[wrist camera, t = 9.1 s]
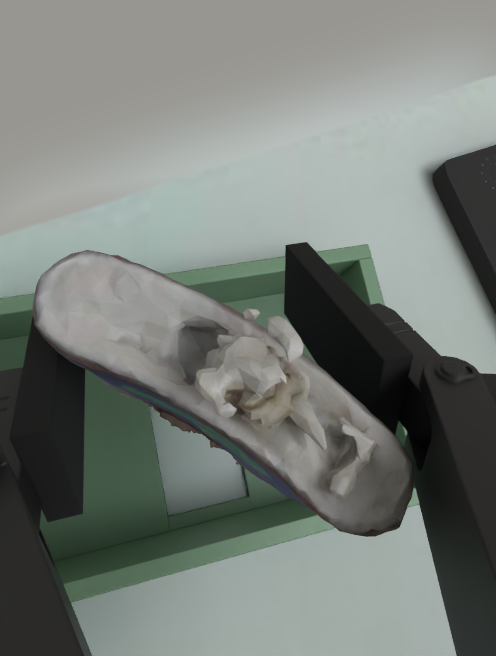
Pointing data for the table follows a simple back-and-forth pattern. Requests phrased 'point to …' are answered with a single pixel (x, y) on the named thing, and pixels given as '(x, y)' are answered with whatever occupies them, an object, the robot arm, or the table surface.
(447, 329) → the table surface
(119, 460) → the open box
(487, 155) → the smart home device
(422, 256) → the table surface
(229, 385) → the flask
